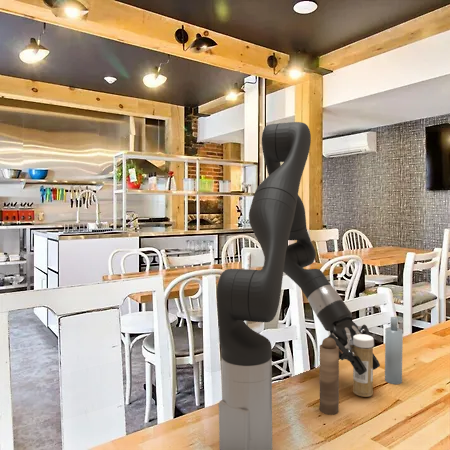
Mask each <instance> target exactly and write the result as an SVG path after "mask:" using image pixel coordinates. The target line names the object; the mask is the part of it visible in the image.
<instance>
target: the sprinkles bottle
mask: <svg viewBox="0 0 450 450" xmlns="http://www.w3.org/2000/svg"><path fill="white" fill-rule="evenodd" d="M353 344H354V349H355V352H356V356H358V357H359V358H360V360H361V361H362V363H363V364H364V366H365V367H366V369H367V371H366V372H365V373H364V374H362V375H359V374H358V373H357V372H356V371H355V369H354V367H353V366H352V368H353V370H352V371H353V372H352V377H353V381H352V383H353V385H352V392H353V394H354V395H357V396H359V397H362V398H363V397H364V398H366V397H368V398H369V397H371V396H373V394H374V391H373V387H374V385H373V380H374V370H373V354H374V347H375V346H374V344H375V340H374V337H373V336H372V335H371V336H369V335H365V334H357V335H354V336H353ZM373 346H374V347H373Z"/></svg>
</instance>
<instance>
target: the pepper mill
mask: <svg viewBox="0 0 450 450" xmlns="http://www.w3.org/2000/svg"><path fill="white" fill-rule="evenodd" d="M339 351H340V349H339V347H338V346H337V345H336V342H335V340H334V339H333V338H330V337H328V336H327V337H326V338H324V339H323V340H322V342H321V344H320V345H319V411H320V412H321V413H323V414H325V415H328V416H332V415H333V416H334V415H336V414H338V413H339V411H340V410H339V409H340V408H339V407H340V405H339V404H340V403H339V402H340V399H339V398H340V397H339V395H340V392H339V390H340V386H339V385H340V382H339V381H340V380H339V378H340V376H339V375H340V358H339Z"/></svg>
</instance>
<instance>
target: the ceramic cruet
mask: <svg viewBox="0 0 450 450" xmlns="http://www.w3.org/2000/svg"><path fill="white" fill-rule="evenodd" d="M398 322H399V321H398V317H396V316H391V317H390V326H388V327H385V329H384V330H385V331H384V332H385V334H384V339H385V340H384V342H385V344H384V381H385V382H386V383H388V384H390V385H401V384H402V383H403V344H404V343H403V342H404V340H403V338H404V337H403V336H404V335H403V334H404V333H403V332H404V330H403V329H402V328H399V327H398Z"/></svg>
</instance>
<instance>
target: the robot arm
mask: <svg viewBox="0 0 450 450" xmlns="http://www.w3.org/2000/svg"><path fill="white" fill-rule="evenodd" d="M261 135H262V136H261V148H262V149H261V150H262V154H263V159H264V163H265V166H266V170H267V171H266V172H267V175H268V176H267V177H266V178H265V179H264V180H263V181H262V182H261V183H260V184H259V185H258V186H257V188H256V189H255V192H254V194H253V197H252V201H251V205H250V207H249V210H248V211H249V212H248V221H249V224H250V227H251V230H252V232H253V234H254V235H255V236H254V237H256V239H257V242H258V243H259V246H260V247H261V250H262V253H263V257H264V261H263V266H262V268H261V269H247V268H245V269H244V268H228V269H225V270H224V271H223V272H222V273H221V274H220V277H219V278H218V282H217V288H216V307H217V320H218V321H217V322H218V341H219V346H220V353H221V354H220V355H221V358H220V359H221V400H220V401H219V402H218V434H219V435H218V436H219V437H218V438H219V439H218V440H219V441H218V443H219V444H218V445H219V450H273V385H272V383H273V381H272V380H273V375H272V373H273V368H272V366H273V365H272V363H273V361H272V358H273V357H272V355H273V354H272V353H273V352H272V348H273V347H272V343H271V341H270V340H269V339H268V338H267V337H266V336H264V335H262V334H260V333H259V332H257V331H255V330H254V329H252V328H250V327H249V326H248V325H247V323H246V322H251V323H252V322H253V323H270V322H272V321H273V320H274V319H275V317H276V316H277V313H278V309H279V305H280V300H281V294H282V287H283V277H284V274H285V275H286V276H287V277H288V278H290V280H292V281H293V283H295V284H296V285H297V286H298V287H299V289H300V290H301V291H302V293H303V294H304V296H305V297H306V299H307V301H308V303H309V305H310V307H311V309H312V311H313V312H314V314H315V315H316V317H317V318H318V320H319V322H320V323H321V325H322V326H323V328H324V329H325V331H326V332H329V335H328V336H327V337H330V338H333V339H334V340H335V342H336V345H337V346H338V347H339V360H341V361H345V360H346V361H348V362H350V365H351V366H352V368H353V367H354V369H355V371H356V372H357V373H358V374H359V375H362V374H364V373H365V372H366V371H367V369H366V367H365V366H364V364H363V363H362V361H361V360H360V358H359V357H358V356H356V352H355V349H354V344H353V336H354V335H357V334H365V335H369V336H372V334H371V332H370V331H369V327H368V326H367V325H366V324H362V325H360V326H359V325H357V324H356V323H355V322H354V321H353V319H352V318H353V313H352V312H351V311H350V309H349V307H348V306H347V305H346V303H345V302H344V300H343V299H342V297H341V296H340V294H339V293H338V292H337V290H336V289H335V288H334V287H333V286H332V284H331V283H330V281H329V280H328V278H327V277H326V275H325V274H324V272H323V271H322V270H321V269H319V268H310V269H309V268H307V269H306V267H308V266H311V265H312V264H313V263H314V262H315V259H316V257H317V255H316V249H315V246H314V245H313V242H312V240H311V237H310V235H309V232H308V228H307V227H308V226H307V219H306V209H305V205H304V202H303V200H302V198H301V197H300V195H299V190H300V186H301V185H300V184H301V181H302V176H303V173H304V169H305V167H306V164H307V161H308V157H309V154H310V150H311V143H312V142H311V141H312V140H311V139H312V137H311V131H310V127H309V126H308V125H307V124H306V123H305V122H301V121H290V122H280V123H269V124H267V125H266V126H265V127H264V128H263V130H262V134H261ZM289 241H295V242H293V243H290V244H288V243H289ZM374 347H376V344H375V343H374V346H373V348H374ZM380 366H381V364H380V361H379V360H378V359H377V357H376V356H375V354H374V353H373V371H374V370H377V369H378V368H379V367H380Z"/></svg>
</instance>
